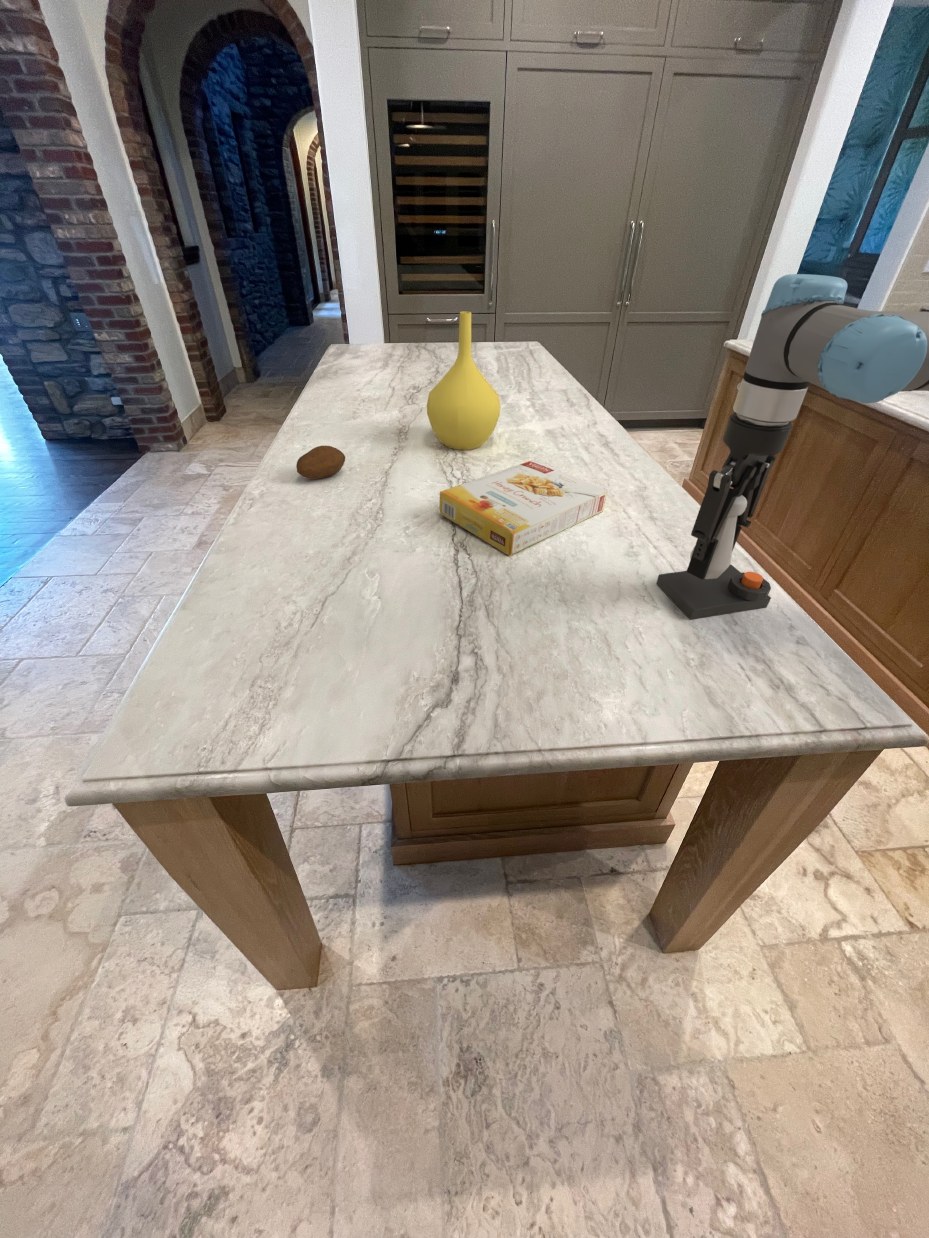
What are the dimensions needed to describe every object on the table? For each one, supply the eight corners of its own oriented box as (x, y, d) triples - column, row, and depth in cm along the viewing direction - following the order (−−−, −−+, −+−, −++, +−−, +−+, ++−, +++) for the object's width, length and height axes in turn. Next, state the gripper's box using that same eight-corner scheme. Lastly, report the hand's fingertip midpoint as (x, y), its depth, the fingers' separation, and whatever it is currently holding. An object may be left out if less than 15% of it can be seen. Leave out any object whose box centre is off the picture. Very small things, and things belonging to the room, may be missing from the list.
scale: (729, 573, 93) (736, 556, 91) (770, 608, 85) (778, 590, 83) (655, 583, 90) (661, 566, 88) (691, 621, 82) (698, 603, 80)
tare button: (751, 578, 86) (755, 570, 85) (763, 588, 84) (767, 580, 83) (737, 580, 85) (740, 572, 84) (748, 590, 83) (752, 582, 82)
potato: (291, 480, 119) (285, 449, 114) (334, 466, 125) (330, 436, 121) (309, 489, 115) (303, 458, 111) (352, 474, 122) (348, 444, 118)
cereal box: (437, 490, 103) (534, 455, 118) (437, 516, 106) (531, 478, 122) (514, 532, 92) (610, 487, 107) (511, 559, 95) (604, 512, 110)
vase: (511, 442, 140) (522, 312, 122) (468, 462, 129) (473, 323, 110) (457, 426, 149) (459, 303, 130) (412, 444, 137) (407, 312, 119)
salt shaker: (685, 559, 87) (710, 484, 79) (722, 565, 86) (751, 489, 78) (687, 578, 82) (713, 501, 74) (726, 585, 81) (757, 507, 73)
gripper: (769, 397, 76) (717, 539, 90) (695, 422, 67) (650, 577, 81) (823, 411, 72) (760, 558, 86) (752, 440, 62) (694, 600, 76)
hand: (707, 567), depth 83 cm, fingers closed on salt shaker, 6 cm apart
